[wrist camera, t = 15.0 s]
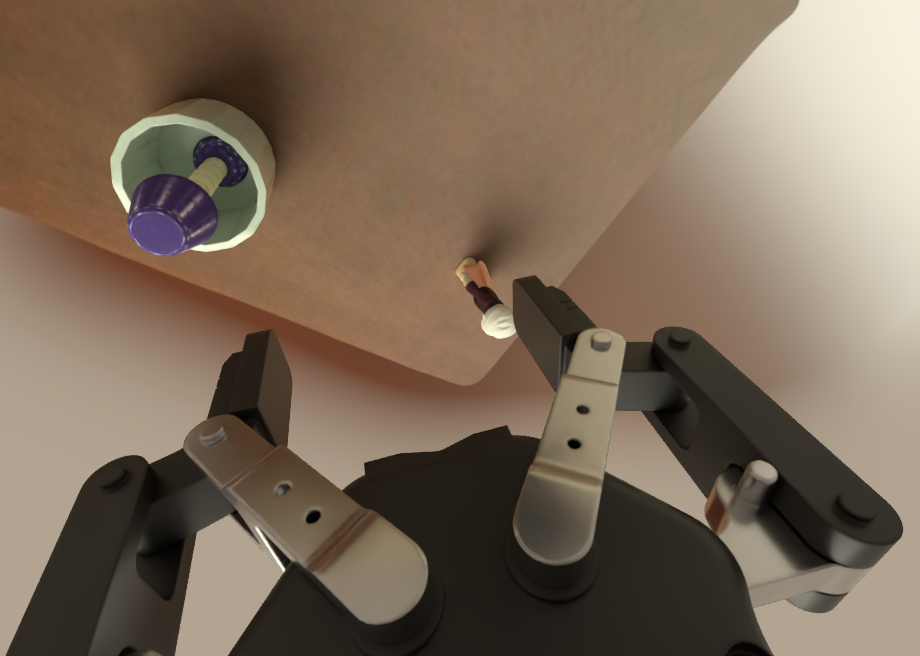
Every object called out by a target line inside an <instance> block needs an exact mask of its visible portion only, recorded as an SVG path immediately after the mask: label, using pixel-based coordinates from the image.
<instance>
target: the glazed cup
mask: <svg viewBox="0 0 920 656" xmlns="http://www.w3.org/2000/svg"><path fill="white" fill-rule="evenodd" d="M208 136H217V137H218V138H220V139H222V140H223V141H225V142H226V143H228V144H230V145H231V146H232V147H233V148H234V149H235V150H236V151H237V153H238V154H239V155H240V156H241V157H242V159H243V160H244V161H245V162H246V163H247V165H248V172H247V175H246V177H245V178H244V179H243V181H241V182H240V183H239V184H237V185H235V186H231V187H217V188H216V189H215V191H214V193H213V194H212V195H211V196H210V197H211V198H212V200H213V202H214V203H215V205H216V208H217V213H218V224H217V228H216V230H215V232H214V234H213V235H212V236H211V237H210V238H209V239H208V240H207V241H205V242H204V243H202V244H200V245H198V246H196V247H194V248H192V249H191V250H197V251H204V252H210V251H215V250H221V249H226V248H232V247H234V246H236V245H238V244H239V243H241V242H242V241H244V240H245V239H247V238H248V237H250V236H251V235H253V234H254V232H255V230H256V229H257V227H258V225H259V224H260V222H261V220H262V219H263V217H264V215H265V212H266V209H267V206H268V202H269V199H270V196H271V193H272V189H273V186H274V179H275V172H276V165H275V158H274V154H273V150H272V148H271V145H270V143H269V141H268V139H267V137H266V136H265V134H264V133H263V131H262V130H261V129H260V128H259V126H258V125H257V124H256V123H255V122H254V121H253V120H252V119H251V118H250V117H248V116H247V115H246V114H244V113H243V112H242V111H240V110H238V109H237V108H235V107H233V106H231V105H229V104H226V103H223V102H220V101H217V100H212V99H203V98H197V99H189V100H184V101H178V102H176V103H174V104H172V105H170V106H168V107H165V108H163V109H161V110H159V111H157V112H155V113H153V114H151V115H149V116H147V117H145V118H143V119H142V120H140V121H139V122H137V123H136V124H134V125H133V126H131V127H130V128H128V129H127V130H126V131H124V132H123V133H122V134H121V135H120V138H119V140H118V142H117V144H116V146H115V149H114V151H113V153H112V155H111V159H110V161H111V172H112V183H113V187H114V189H115V191H116V193H117V195H118V197H119V198H120V200H121V202H122V204H123V206H124V207H125V209H126V211H127V213H128V214H129V209H130V204H131V200H132V196H133V193H134V191H135V189H136V187H137V186H138V185H139V184H140V183H141V182H142V181H143V180H145V179H146V178H149V177H151V176H154V175H158V174H174V175H180V176H182V177H185V178H189V177H190V176H191V175H192V174H193V172H194V171H195V170H196V169H195V166H194V163H193V150H194V148H195V146H196V144H197V143H198V142H199V141H200V140H202V139H203V138H206V137H208Z"/></svg>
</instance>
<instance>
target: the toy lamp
mask: <svg viewBox="0 0 920 656" xmlns="http://www.w3.org/2000/svg"><path fill="white" fill-rule="evenodd" d="M193 163H194V166H195V169H196V170H195V171H194V172H193V174H192V175H191V176H190V177H189V178H185V177H182V176H180V175H174V174H158V175H154V176H151V177H149V178H146V179H145V180H143V181H142V182H141V183H140V184H139V185H138V186H137V187H136V189H135V191H134V193H133V196H132V200H131V204H130V209H129V214H128V221H127V226H128V231H129V234H130V236H131V238H132V239H133V241H134V242H135V243H136V244H137V245H138V246H139V247H140V248H142V249H143V250H145V251H147V252H149V253H151V254H154V255H158V256H173V255H177V254H180V253H183V252H185V251H187V250H189V249H192V248H194V247H196V246H198V245H200V244H202V243H204V242H205V241H207V240H208V239H209V238H210V237H211V236H212V235H213V234H214V232H215V230H216V228H217V224H218V213H217V208H216V205H215V203H214V202H213V200H212V198H211V197H210V196H211V195H212V194H213V193H214V191H215V189H216V188H217V187H231V186H235V185H237V184H239V183H240V182H241V181H243V179H244V178H245V177H246V175H247V172H248V165H247V163H246V162H245V161H244V160H243V159H242V157H241V156H240V155H239V154H238V153H237V151H236V150H235V149H234V148H233V147H232V146H231V145H230V144H228V143H226V142H225V141H223V140H222V139H220V138H218V137H217V136H208V137H206V138H203V139H202V140H200V141H199V142H198V143H197V144H196V146H195V148H194V150H193Z"/></svg>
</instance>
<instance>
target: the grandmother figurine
mask: <svg viewBox="0 0 920 656" xmlns="http://www.w3.org/2000/svg"><path fill="white" fill-rule="evenodd" d="M456 275H457V276H458V277H460V279H461V280H462V281H463V284H464V285H465V288H466V290H467V291H468V292H469V293H470V294H472V295H473V299H474V302H475V305H476V306H477V307H478V308H479V309H480V310H481V311H482V312H483V313H484V314H483V319H482V321H481V327H482V329H483V330H484V331H485V333H486V334H488V335H490V336H494V337H496V338H506V337H508V336H511V335H513V334H514V333H515V332H516V329H515V326H514V321H513V314H512V312H511V310H510V309H509V308H508V307H507V306H505V305H504V304H503V303H502V302H501V301H500V300H499V299H498V297H497V295H496V294H495V290H494V288H493V284H492V281H491V279H490V275H489V273H488V270H487V267H486V265H485V263H484V262H482V261H479V262H478V263H477V262H476V260H475V259H473V258H471V257H468V258H465V259H464V260H463V261H462V262H461V264H460V265H459V266H458V268H457V269H456Z"/></svg>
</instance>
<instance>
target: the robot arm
mask: <svg viewBox="0 0 920 656" xmlns="http://www.w3.org/2000/svg"><path fill="white" fill-rule="evenodd" d="M513 321H514V326H515V329H516V332H517V334H518V335H519V337H520V338H521V340H522V342H523V343H524V344H525V346H526V348H527V349H528V350H529V352H530V354H531V355H532V357H533V359H534V360H535V362H536V363H537V365H538V366H539V368H540V369H541V371H542V372H543V374H544V375H545V377H546V379H547V380H548V382H549V383H550V384H551V386H552V388H553V389H554V391H555V392H556V394H555V397H554V401H553V404H552V407H551V410H550V413H549V416H548V419H547V422H546V425H545V428H544V432H543V435H542V438H541V439H538V438H534V437H529V436H518V435H511V433H510V431H509V429H508V426H507V425H506V426H502V427H498V428H495V429H491V430H487V431H484V432H480V433H476V434H472V435H471V436H469V437H467V438H465V439H463V440H461V441H459V442H457V443H455V444H453V445H451V446H449V447H447V448H445V449H443V450H441V451H435V452H417V453H400V454H396V455H393V456H388V457H385V458H381V459H377V460H374V461H370V462H366V463H364V466H365V475H364V476H362V477H360V478H358V479H357V480H355V481H354V482H352V483H351V484H349V485H348V486H347V487H345V489H343V490H342V491H341V490H340V489H339V488H337V487H336V486H335V485H334V484H332V483H331V482H330V481H329V480H327V479H326V478H325V477H324V476H322V475H321V474H320V473H318V472H317V471H316V470H315V469H313V468H312V467H311V466H310V465H308V464H307V463H306V462H305V461H303V460H302V459H301V458H299V457H298V456H297V455H296V454H294V453H293V452H292V451H291V450H289V449H288V448H287V444H288V432H289V420H290V408H291V395H292V377H291V372H290V368H289V366H288V363H287V361H286V358H285V356H284V353H283V351H282V348H281V346H280V343H279V341H278V339H277V336H276V334H275V332H274V331H273V330H272V329H270V330H265V331H261V332H256V333H251V334H248V335H247V336H246V339H245V343H244V347H243V351H241V352H237V353H233V354H232V355H231V356H230V357H229V358H228V360H227V361H226V362H225V363H224V365H223V367H222V369H221V373H220V376H219V377H220V379H219V380H218V383H217V389H216V390H215V393H214V397H213V400H212V404H211V407H210V410H209V414H208V417H207V420H205V421H203V422H202V423H200V424H199V425H197V426H196V427H195V428H194V429H192V430H191V432H190V433H189V434H188V435H187V437H186V439H185V441H184V445H183V446H184V447H183V448H182V449H180V450H179V451H177V452H175V453H173V454H170V455H168V456H166V457H164V458H162V459H160V460H157V461H155V462H153V463H151V464H148V462H147V461H146V460H145V459H144V458H143V457H141V456H138V455H130V456H124V457H121V458H118V459H115V460H113V461H111V462H109V463H107V464H106V465H104V466H102V467H101V468H99V469H98V470H97V471H95V472H94V473H93V474H92V475H91V476H90V477H89V478H88V479H87V481H86V482H85V483H84V484H83V486H82V488H81V490H80V492H79V494H78V497H77V499H76V501H75V503H74V505H73V508H72V510H71V512H70V514H69V516H68V519H67V521H66V523H65V525H64V528H63V530H62V532H61V534H60V537H59V539H58V541H57V543H56V545H55V548H54V550H53V552H52V554H51V557H50V559H49V561H48V563H47V565H46V568H45V570H44V572H43V574H42V576H41V578H40V581H39V583H38V585H37V587H36V590H35V592H34V594H33V596H32V598H31V601H30V603H29V605H28V607H27V610H26V612H25V614H24V616H23V618H22V621H21V623H20V625H19V627H18V630H17V632H16V634H15V636H14V638H13V641H12V643H11V645H10V647H9V649H8V652H7V654H6V656H175V651H176V645H177V640H178V634H179V628H180V623H181V617H182V612H183V606H184V601H185V595H186V590H187V584H188V578H189V573H190V567H191V562H192V556H193V550H194V545H195V539H196V533H197V532H198V531H199V530H201V529H203V528H205V527H207V526H209V525H210V524H212V523H214V522H216V521H218V520H219V519H221V518H223V517H225V516H227V515H229V516H230V517H231V518H232V519H233V520H234V521H235V522H236V523H237V524H238V525H239V526H240V527H241V528H242V529H243V531H244V532H245V533H246V534H247V535H248V536H249V537H250V538H251V539H252V540H253V541H254V542H255V543H256V545H258V547H259V548H260V549H261V550H262V551H263V552H264V553H265V554H266V555H267V556H268V558H269V559H270V560H271V561H272V563H273V564H274V565H275V567H276V568H277V569H278V570H279V571H280V573H281V574H282V576H281V577H280V579H279V580H278V582H277V583H276V585H275V586H274V588H273V589H272V591H271V592H270V594H269V595H268V597H267V598H266V600H265V601H264V603H263V604H262V606H261V607H260V609H259V611H258V612H257V613H256V615H255V616H254V618H253V619H252V621H251V622H250V624H249V625H248V627H247V628H246V630H245V631H244V632H243V634H242V635H241V637H240V638H239V640H238V641H237V643H236V644H235V646H234V647H233V649H232V650H231V652H230V653H229V655H228V656H774V655H773V654H772V652H771V650H770V648H769V646H768V644H767V642H766V640H765V638H764V636H763V634H762V631H761V629H760V627H759V624H758V622H757V619H756V616H755V613H754V610H753V608H756V607H759V606H763V605H766V604H770V603H773V602H777V601H780V600H784V599H785V600H787V601H788V602H789V603H791V604H793V605H794V606H796V607H798V608H800V609H803V610H805V611H809V612H813V613H825V612H829V611H831V610H832V609H834V607H835V606H836V605H837V604H838V603H839V602H840V601H841V600H842V599H843V598H844V597H845V596H846V595H847V594H848V592H850V590H851V589H852V588H853V587H854V586H855V585H856V584H857V583H858V582H859V581H860V580H861V579H862V578H863V577H864V576H865V575H866V574H867V573H868V572H869V571H870V569H872V567H873V566H874V565H875V564H876V563H877V562H878V561H879V560H880V559H881V558H882V557H883V556H884V555H885V554H886V553H887V552H888V551H889V550H890V548H892V546H893V545H894V544H895V543H896V542H897V541H898V540H899V539H900V538H901V536H902V534H903V526H902V522H901V520H900V517H899V516H898V514H897V513H896V511H895V510H894V509H893V508H892V506H891V505H890V504H889V503H887V501H886V500H884V499H883V498H882V497H881V496H880V495H879V494H877V492H875V491H874V490H873V489H872V488H871V487H870V486H869V485H868V484H866V483H865V482H864V481H863V480H862V479H861V478H860V477H858V476H857V475H856V474H855V473H854V472H853V471H852V470H851V469H850V468H848V467H847V466H846V465H845V464H844V463H843V462H842V461H841V460H839V459H838V458H837V457H836V456H835V455H834V454H833V453H832V452H831V451H829V450H828V449H827V448H826V447H825V446H824V445H823V444H821V443H820V442H819V441H818V440H817V439H816V438H815V437H814V436H812V435H811V434H810V433H809V432H808V431H807V430H806V429H805V428H804V427H802V426H801V425H800V424H799V423H798V422H797V421H796V420H795V419H794V418H792V417H791V416H790V415H789V414H788V413H787V412H786V411H784V410H783V409H782V408H781V407H780V406H779V405H778V404H777V403H776V402H774V401H773V400H772V399H771V398H770V397H769V396H768V395H767V394H765V393H764V392H763V391H762V390H761V389H760V388H759V387H758V386H756V385H755V384H754V383H753V382H752V381H751V380H750V379H748V378H747V377H746V376H745V375H744V374H743V373H742V372H741V371H739V370H738V369H737V368H736V367H735V366H734V365H733V364H732V363H731V362H730V361H728V360H727V359H726V358H725V357H724V356H723V355H722V354H721V353H719V352H718V351H717V350H716V349H715V348H714V347H713V346H712V345H710V344H709V343H708V342H707V341H706V340H705V339H704V338H702V337H701V336H700V335H699V334H697V333H695V332H694V331H692V330H689V329H686V328H681V327H665V328H662V329H659V330H658V331H656V333H655V334H654V337H653V342H626V341H625V339H624V338H623V337H622V336H621V335H620V334H619V333H617V332H615V331H613V330H610V329H606V328H598V327H597V326H596V325H595V324H594V323H593V322H592V321H591V320H590V319H589V318H588V317H587V316H586V315H585V313H584V312H583V311H582V310H581V309H580V308H578V306H577V305H576V304H575V303H574V302H572V299H571V298H570V297H569V296H568V295H567V294H566V293H565V292H564V291H562V290H560V289H558V288H556V287H553V286H549V287H546V286H545V285H544V284H543V283H542V282H541V281H540V279H539V278H538V277H537V276H535V275H534V276H529V277H524V278H519V279H515V280H514V281H513ZM615 411H642V413H643V414H644V415H645V417H646V418H647V419H648V421H649V422H650V423H651V425H652V426H653V427H654V428H655V430H656V431H657V433H658V434H659V435H660V437H661V438H662V439H663V441H664V442H665V443H666V445H667V446H668V447H669V449H670V450H671V451H672V453H673V454H674V456H675V457H676V458H677V460H678V461H679V462H680V463H681V465H682V466H683V468H684V469H685V470H686V472H687V473H688V474H689V475H690V477H691V478H692V479H693V481H694V482H695V484H696V485H697V486H698V488H699V489H700V490H701V492H702V493H703V494H704V496H705V497H706V498H707V502H706V505H705V511H704V512H705V517H706V520H707V522H708V524H709V526H710V528H711V529H710V528H708V527H707V526H706V525H704V524H703V523H702V522H700V521H699V520H697V519H695V518H693V517H692V516H690V515H688V514H686V513H684V512H682V511H680V510H679V509H677V508H675V507H673V506H671V505H669V504H667V503H665V502H663V501H661V500H659V499H657V498H655V497H654V496H652V495H650V494H648V493H646V492H644V491H642V490H640V489H638V488H636V487H634V486H633V485H631V484H628V483H627V482H625V481H623V480H621V479H619V478H617V477H615V476H613V475H611V474H610V473H607V472H606V471H605V467H606V461H607V456H608V449H609V444H610V437H611V432H612V426H613V420H614V413H615Z"/></svg>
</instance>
